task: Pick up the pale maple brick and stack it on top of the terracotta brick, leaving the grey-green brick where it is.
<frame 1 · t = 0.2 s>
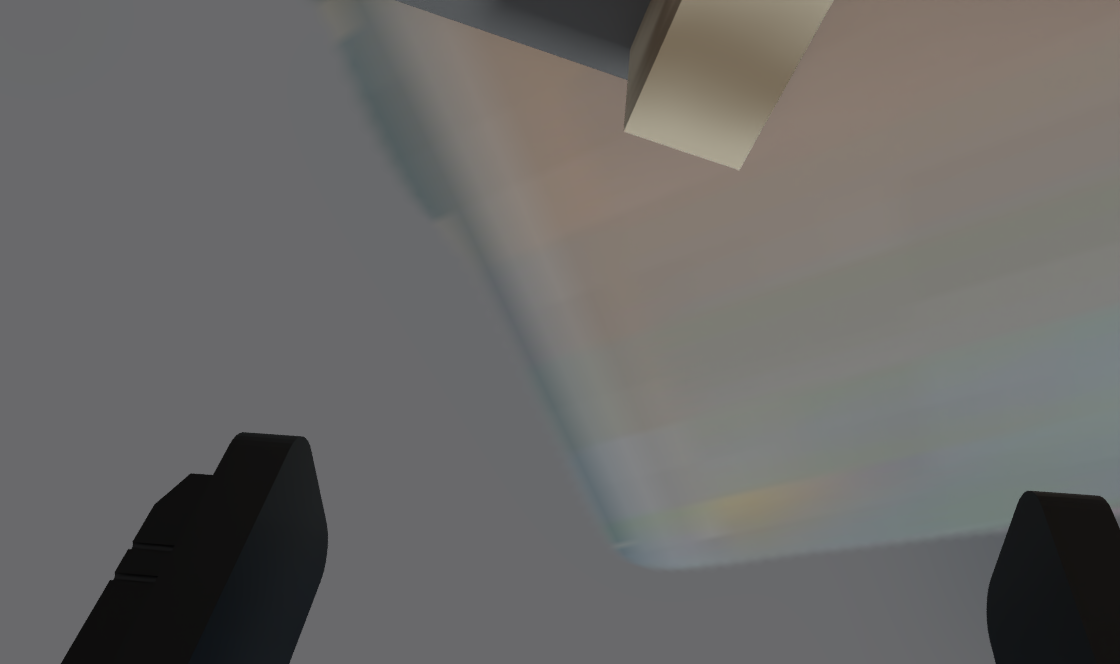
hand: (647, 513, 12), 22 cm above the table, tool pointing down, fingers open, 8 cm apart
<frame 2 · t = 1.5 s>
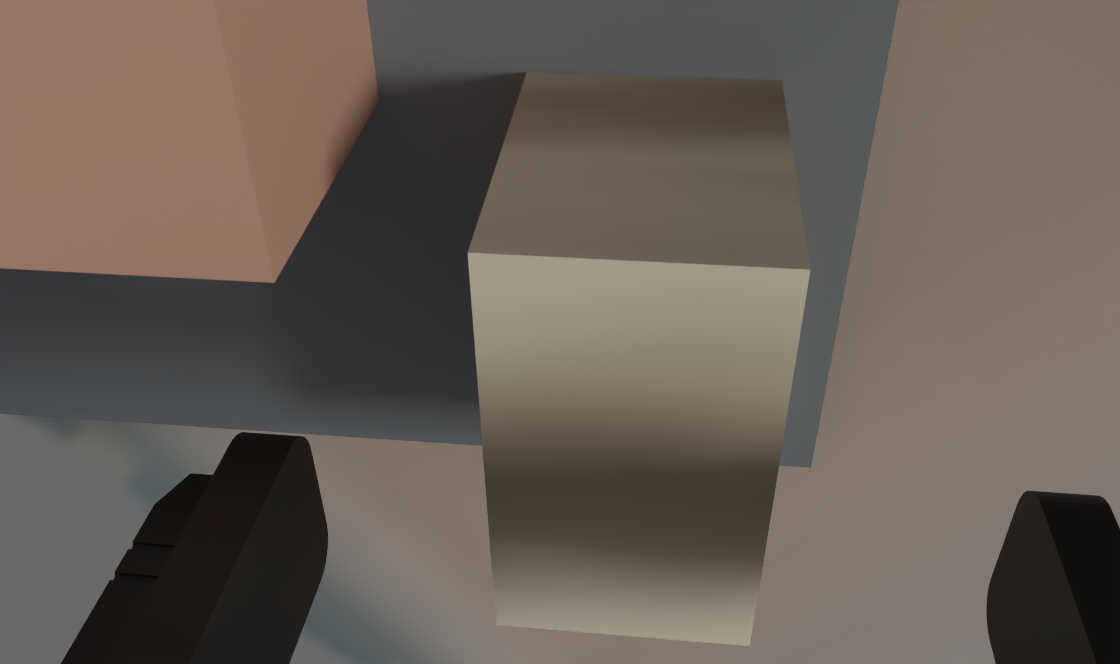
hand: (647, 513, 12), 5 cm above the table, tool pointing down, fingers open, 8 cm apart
maple brick: (644, 264, 16), point 1 cm above the table, touching charcoal mat
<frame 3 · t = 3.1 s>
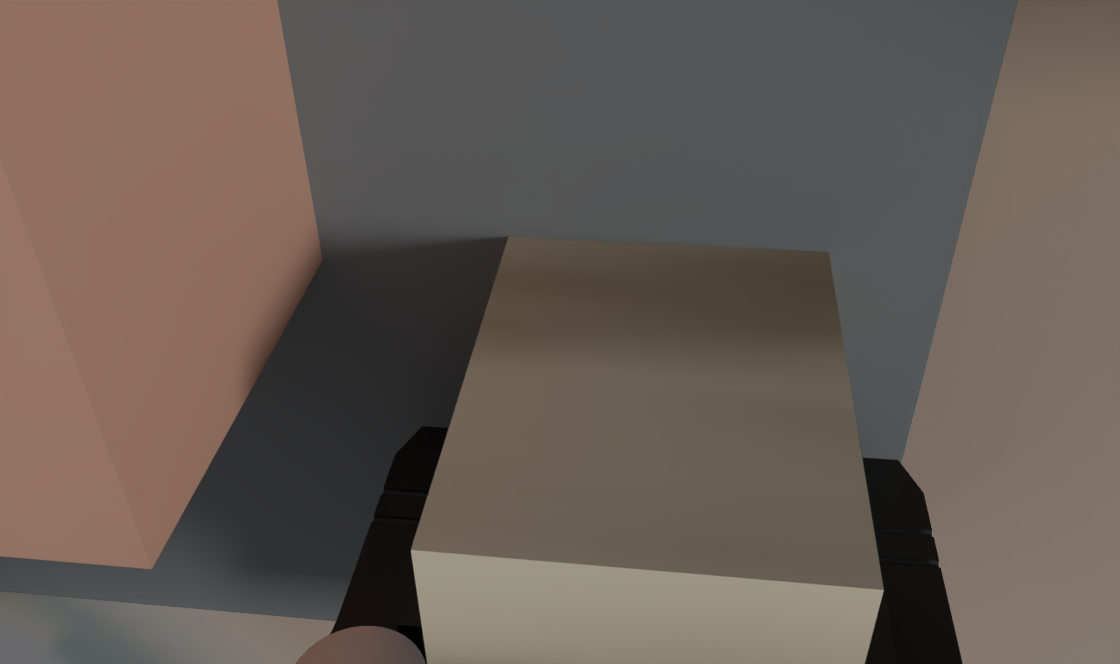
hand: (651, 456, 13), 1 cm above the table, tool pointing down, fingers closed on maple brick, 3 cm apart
maple brick: (654, 451, 13), point 1 cm above the table, touching charcoal mat, gripper
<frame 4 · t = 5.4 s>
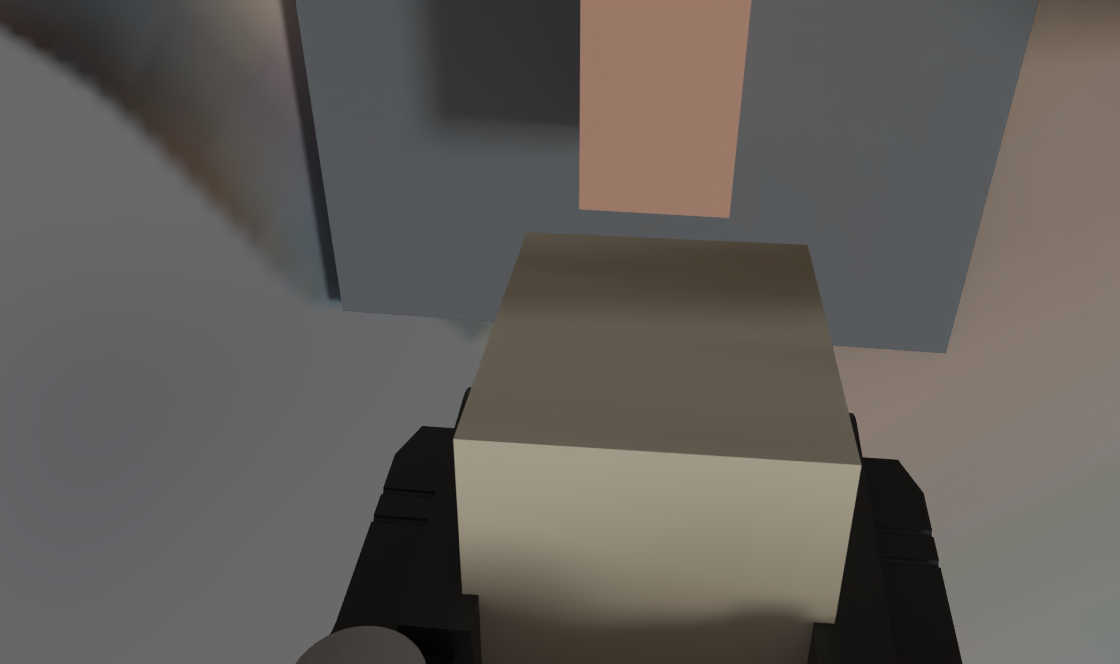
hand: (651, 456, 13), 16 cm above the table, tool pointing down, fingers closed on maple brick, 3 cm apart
maple brick: (654, 442, 14), point 15 cm above the table, tilted 7°, touching gripper
terracotta brick: (669, 16, 25), point 1 cm above the table, touching charcoal mat
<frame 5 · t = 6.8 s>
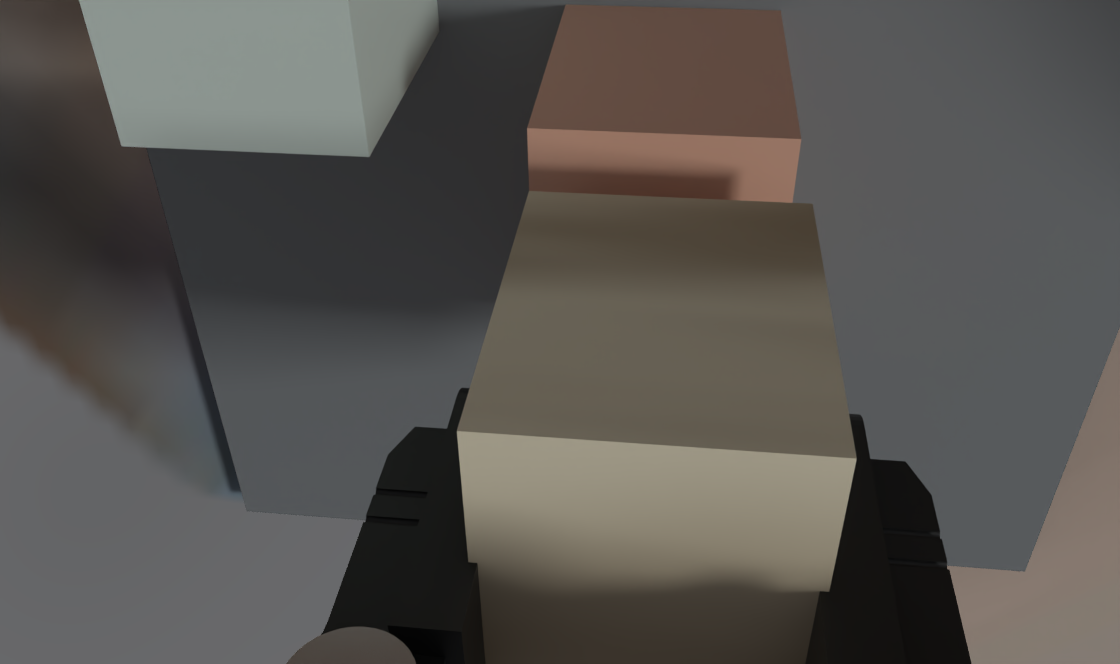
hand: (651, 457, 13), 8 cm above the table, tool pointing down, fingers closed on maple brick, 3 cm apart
maple brick: (657, 392, 14), point 6 cm above the table, touching gripper
terracotta brick: (663, 175, 18), point 1 cm above the table, touching charcoal mat
charcoal mat: (637, 133, 19), on the table
when the fingers open (7 cm above the table, at t = 7.7 s): maple brick stays where it is, resting on terracotta brick.
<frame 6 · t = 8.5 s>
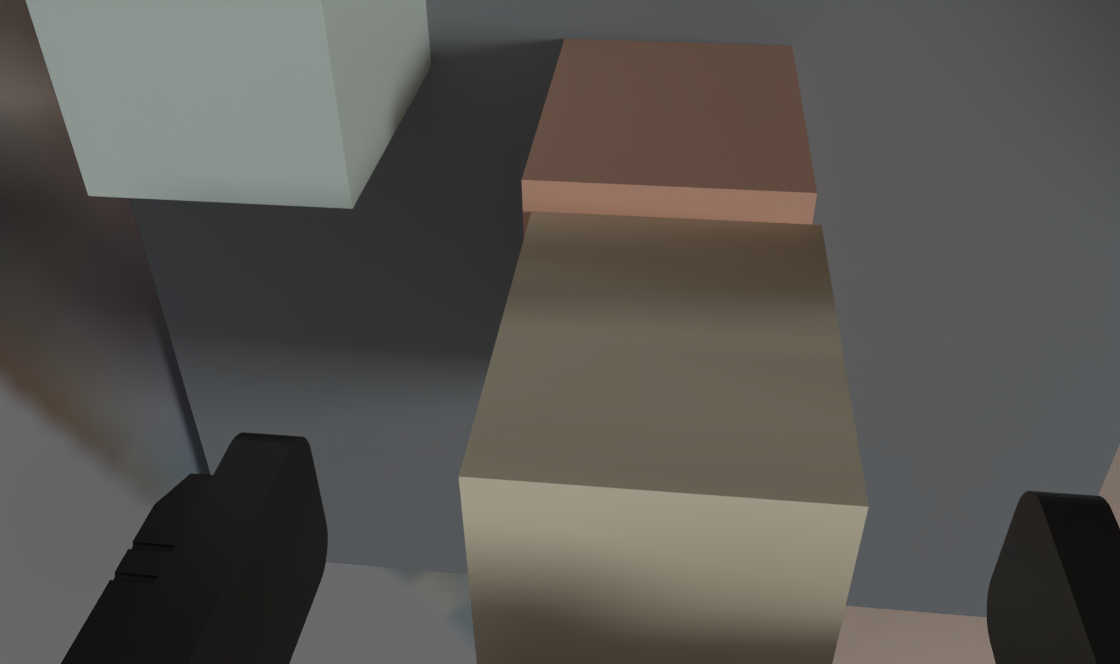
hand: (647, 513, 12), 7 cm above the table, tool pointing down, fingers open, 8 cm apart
maple brick: (662, 411, 14), point 5 cm above the table, touching terracotta brick
terracotta brick: (667, 216, 17), point 1 cm above the table, touching charcoal mat, maple brick
charcoal mat: (640, 171, 18), on the table
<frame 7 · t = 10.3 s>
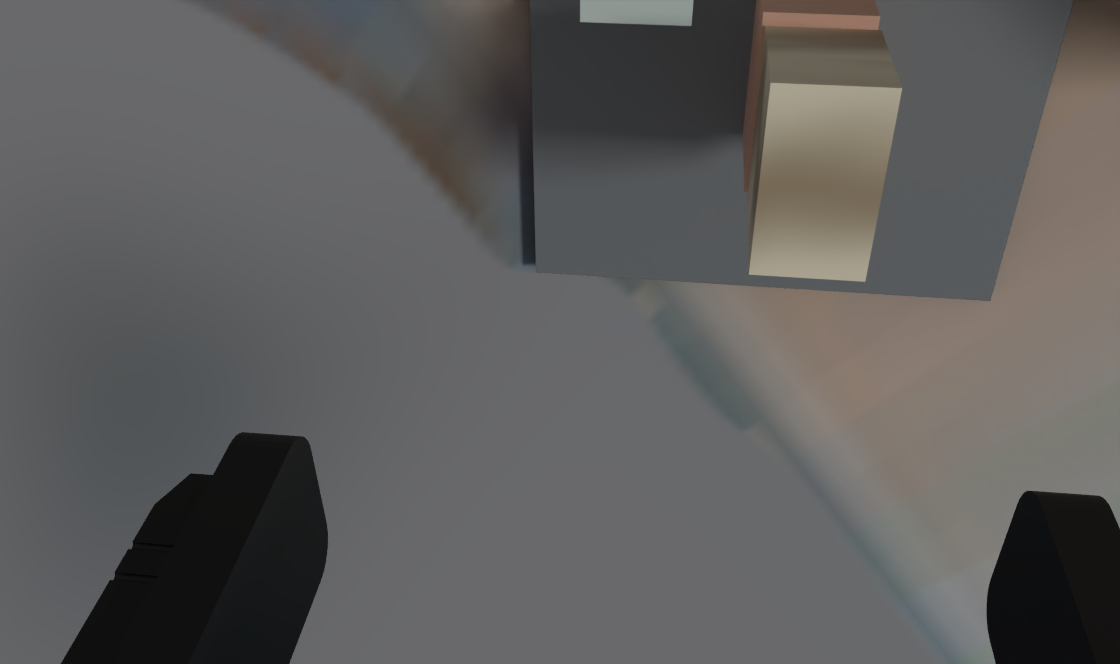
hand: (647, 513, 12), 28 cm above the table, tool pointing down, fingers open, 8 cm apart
maple brick: (810, 121, 33), point 5 cm above the table, touching terracotta brick
terracotta brick: (800, 57, 36), point 1 cm above the table, touching charcoal mat, maple brick
charcoal mat: (786, 37, 36), on the table
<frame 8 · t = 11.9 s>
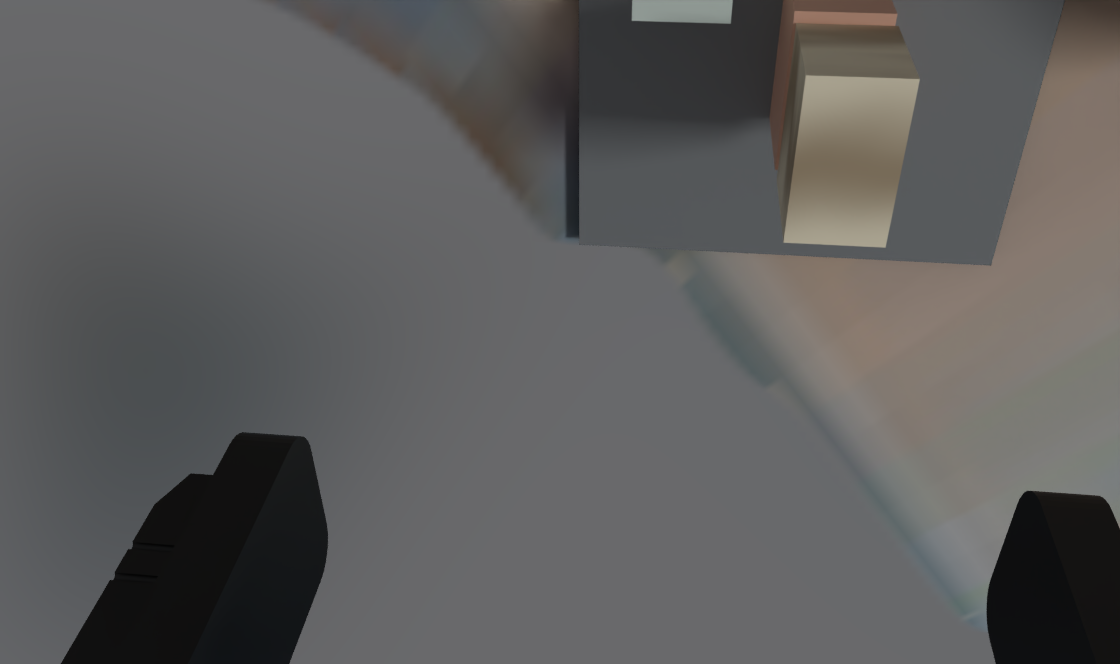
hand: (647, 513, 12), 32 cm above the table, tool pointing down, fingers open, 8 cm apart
maple brick: (834, 106, 37), point 5 cm above the table, touching terracotta brick
terracotta brick: (822, 48, 40), point 1 cm above the table, touching charcoal mat, maple brick
charcoal mat: (809, 29, 41), on the table
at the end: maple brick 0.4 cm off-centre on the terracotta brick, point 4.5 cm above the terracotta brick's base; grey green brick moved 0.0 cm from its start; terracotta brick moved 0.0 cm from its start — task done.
